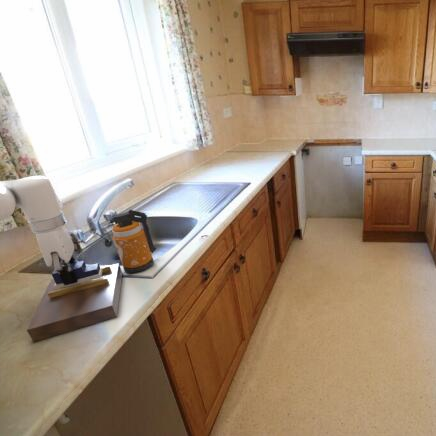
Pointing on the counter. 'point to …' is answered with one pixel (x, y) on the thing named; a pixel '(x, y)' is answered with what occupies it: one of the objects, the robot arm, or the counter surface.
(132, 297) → the counter surface
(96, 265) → the blue box
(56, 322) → the brown rectangular slab
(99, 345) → the counter surface
